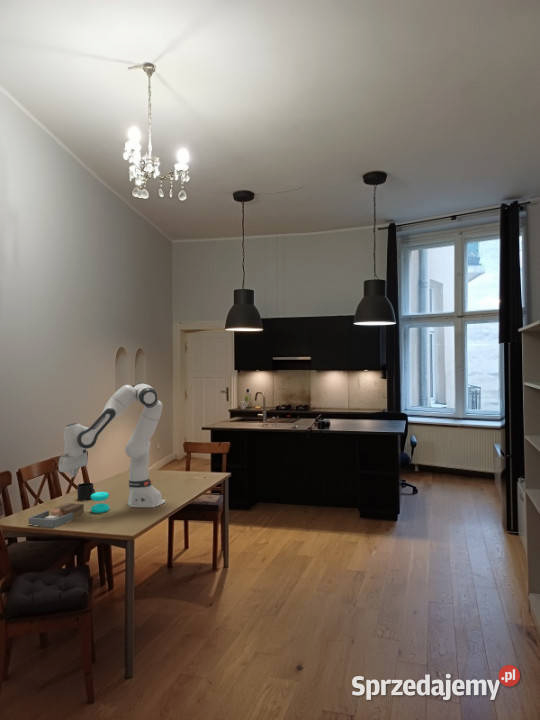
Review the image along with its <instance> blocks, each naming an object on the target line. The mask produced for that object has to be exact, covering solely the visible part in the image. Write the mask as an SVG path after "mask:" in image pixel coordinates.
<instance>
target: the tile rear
mask: <svg viewBox="0 0 540 720" xmlns="http://www.w3.org/2000/svg"><path fill="white" fill-rule="evenodd" d="M55 508H56V507H54V508H52V509H51V510H49V513H50V514H51V515H59V517H62V516H64V515H63V513H62V511H61V509H55Z"/></svg>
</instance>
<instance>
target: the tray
mask: <svg viewBox="0 0 540 720" xmlns="http://www.w3.org/2000/svg"><path fill="white" fill-rule="evenodd" d="M48 516H50V510H45V511H43V512H40V513H38V514H35V515H33V516H29V517H28V525H29V524H32V525H38V526H43V527H42V528H48V527H49V529H56V528H57V526H58V527H60V526H62V524H63V525H64V523H65V524H67V523H69V522H72V521H73V520H74V517H73V513H69V514H67V515H64V516H62V517H59V518H57V519H54V520H51V519H45V517H48ZM71 520H72V521H71ZM68 521H69V522H68ZM66 522H67V523H66ZM59 525H60V526H59ZM38 526H37V527H38ZM55 527H56V528H55Z"/></svg>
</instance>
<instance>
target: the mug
mask: <svg viewBox="0 0 540 720" xmlns="http://www.w3.org/2000/svg"><path fill="white" fill-rule="evenodd" d="M76 486H77V487H76V488H77V493H76V494H77V495H76V496H77V501H79V500H87V501H91V500H92V499H91V495H92V494H93V493H96V491H95V489H94V483H93V482H82V483H79V484H77V485H76Z"/></svg>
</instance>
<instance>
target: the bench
mask: <svg viewBox="0 0 540 720" xmlns="http://www.w3.org/2000/svg"><path fill="white" fill-rule="evenodd" d="M84 505H85V504H84V503H72V502H67V503H64V504H62V505H61V504H60V505H58V506H56V507H54V508H55V509H61V511H62V513H63V515H67V514H69V513H73V518H76V517H78V516H80V515H79V514H81V515H83V514H84V513H85V512H84V511H85V510H84ZM82 513H83V514H82ZM77 515H78V516H77ZM75 516H76V517H75Z"/></svg>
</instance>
